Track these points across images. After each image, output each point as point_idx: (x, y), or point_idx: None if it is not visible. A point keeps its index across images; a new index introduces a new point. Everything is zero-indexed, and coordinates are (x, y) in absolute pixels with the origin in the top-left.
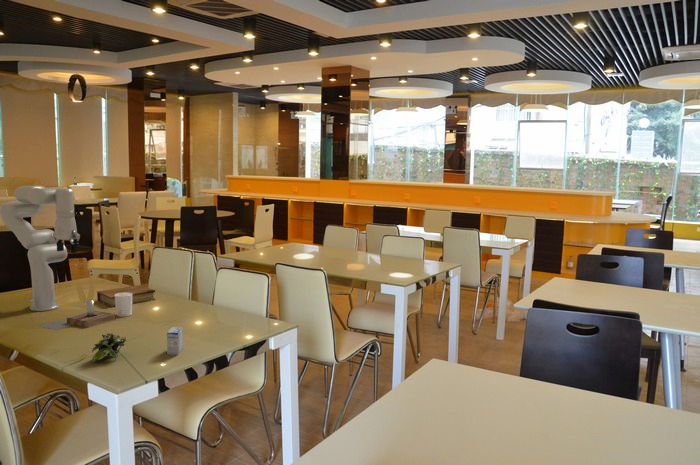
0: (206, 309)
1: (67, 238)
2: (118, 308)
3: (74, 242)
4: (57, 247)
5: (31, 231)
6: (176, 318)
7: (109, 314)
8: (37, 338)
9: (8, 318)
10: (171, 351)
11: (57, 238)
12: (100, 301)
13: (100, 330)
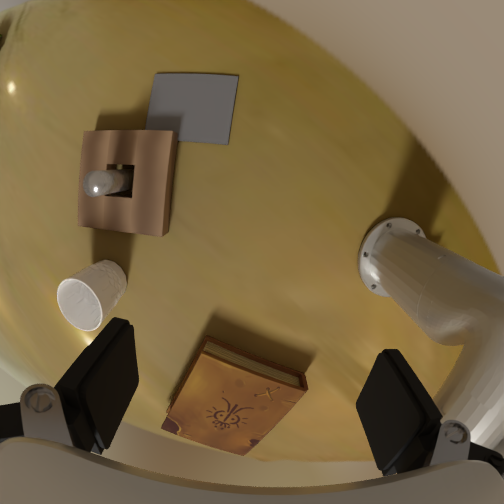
0: (29, 357)
1: (12, 452)
2: (94, 266)
3: (20, 409)
4: (404, 375)
5: None
6: (14, 287)
7: (85, 216)
8: (153, 20)
9: (402, 129)
10: None
11: (431, 478)
12: (285, 367)
13: (61, 137)
